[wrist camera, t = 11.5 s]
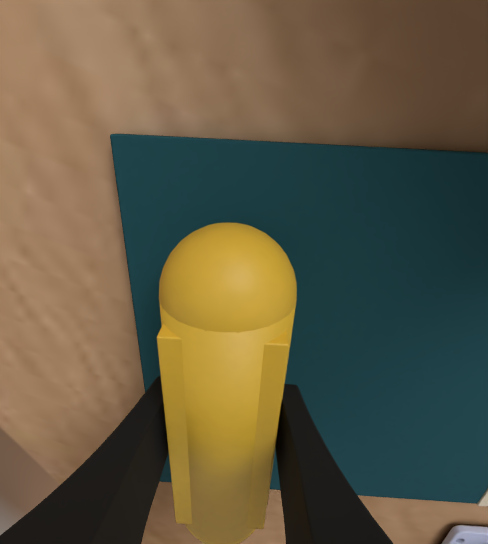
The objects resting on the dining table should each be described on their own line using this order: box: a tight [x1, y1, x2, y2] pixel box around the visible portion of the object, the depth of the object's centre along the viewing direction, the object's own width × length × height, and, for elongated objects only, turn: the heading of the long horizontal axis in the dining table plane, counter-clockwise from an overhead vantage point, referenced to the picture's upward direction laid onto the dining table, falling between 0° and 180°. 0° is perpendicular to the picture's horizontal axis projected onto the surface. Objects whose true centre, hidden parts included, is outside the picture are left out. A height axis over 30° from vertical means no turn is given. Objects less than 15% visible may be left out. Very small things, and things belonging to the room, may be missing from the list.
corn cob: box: [157, 222, 297, 544], centre depth 11 cm, size 4×15×4 cm, turn 177°
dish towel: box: [110, 134, 488, 506], centre depth 13 cm, size 18×20×1 cm
